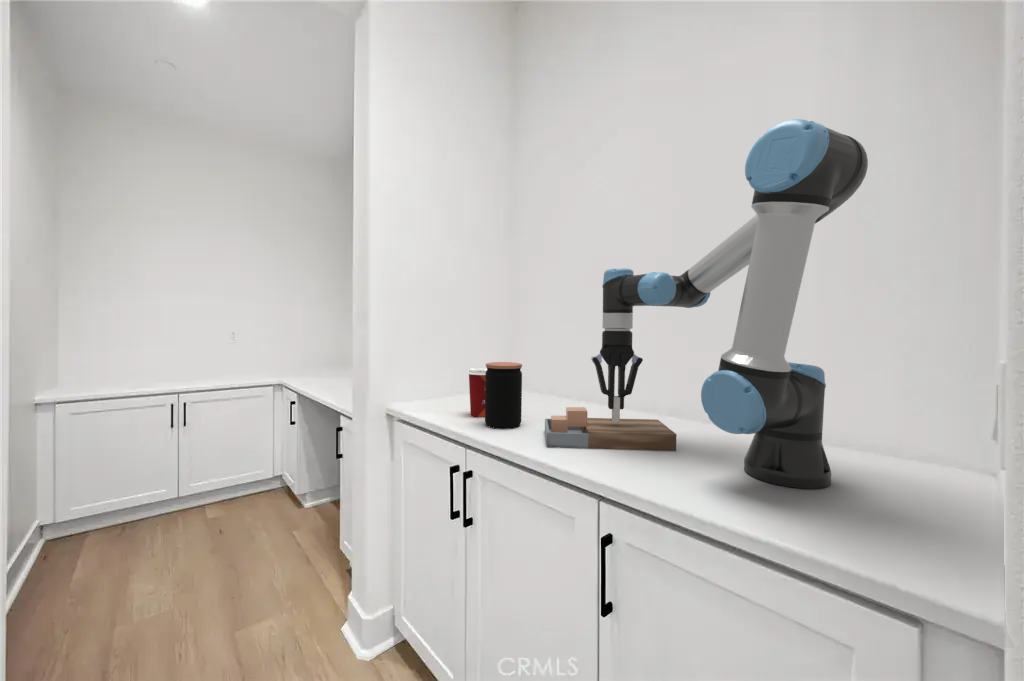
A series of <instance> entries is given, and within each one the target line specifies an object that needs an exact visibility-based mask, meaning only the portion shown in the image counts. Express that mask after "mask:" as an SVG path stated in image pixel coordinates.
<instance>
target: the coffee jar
mask: <svg viewBox="0 0 1024 681" xmlns="http://www.w3.org/2000/svg"><path fill="white" fill-rule="evenodd" d="M522 367H523V364H522V363H521V362H512V361H511V362H510V361H496V362H495V361H494V362H493V361H491V362H486V363H485V368H487V371H486V380H485V418H484V423H485V424H486V425H488V426H490V427H489V428H491V427H494V428H493V429H496V428H511V429H514V427H516V428H518V427H519V426H520V425H521V423H522V403H523V402H522V399H523V398H522V397H523V395H522V394H523V393H522V392H523V373H522V371H521V369H522ZM488 426H487V427H488ZM517 426H518V427H517Z"/></svg>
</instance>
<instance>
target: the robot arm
mask: <svg viewBox="0 0 1024 681" xmlns="http://www.w3.org/2000/svg"><path fill="white" fill-rule="evenodd" d="M868 162H869V161H868V154H867V152H866V150H865V148H864V146H863V144H861V143H860V142H859V141H858V140H857V139H856V138H854V137H852V136H849V135H847V134H843V133H840V132H839V131H835V130H833V129H831V128H828V127H826V126H825V125H823V124H821V123H820V122H817V121H813V120H810V121H809V120H806V119H800V118H799V119H797V118H795V119H788V120H785V121H782V122H780V123H777V124H776V125H774V126H772V127H771V128H769V129H767V131H766V132H765V133H764V134H763V135H762V136H759V138H758V139H757V140H756V142H755V143H754V144H753V146H752V147H751V149H750V151H749V152H748V155H747V157H746V161H745V165H744V175H745V179H746V181H747V182H748V183H749V184H748V185H749V186H750V187H751V188H752V189H753V190H754V191H753V196H752V201H751V206H750V207H751V208H752V210H753V211H754V213H755V215H754V216H753V217H752V218H750V219H749V220H748V221H747V222H745V224H743V225H742V226H741V227H739V228H737V230H735V231H734V232H733V233H732V234H731V235H730V236H728V237H727V238H726V239H724V240H723V241H722V242H720V243H719V244H718V245H717V246H716V247H714V248H713V249H712V250H711V251H710V252H708V253H707V254H706V255H705V256H703V257H702V258H701V259H700V260H699V261H697V262H695V264H694V265H692V266H691V267H690V268H689V269H687V270H686V271H684V272H683V273H682V274H680V275H670V274H669V273H668V272H664V271H662V272H659V271H658V272H656V271H654V272H653V271H652V272H649V273H642V274H634V270H633V269H631V268H626V267H623V268H620V267H619V268H609V269H606V271H604V272H603V280H602V281H603V282H602V285H601V286H602V329H604V330H603V331H602V333H601V348H600V350H599V353H598V354H597V355H595V356H591V359H590V360H591V361H592V363H593V365H594V366H595V367H594V368H595V370H596V373H597V374H596V375H597V380H598V383H599V384H598V385H599V388H600V392H601V393H602V395H605V396H607V407H608V410H611V418H612V421H613V423H620V419H621V418H620V416H621V410H624V408H625V397H626V396H630V395H632V393H633V390H634V386H635V382H636V378H637V373H638V370H639V367H640V365H641V364H642V362H643V361H644V359H643V358H642V357H639V356H638V355H637V354H635V351H634V349H633V332H632V331H631V330H632V329H633V328H634V327H633V325H634V324H633V319H634V318H633V316H634V315H633V313H634V311H633V309H634V307H644V306H645V307H649V306H650V307H677V308H685V309H686V308H687V309H693V308H698V307H701V306H703V305H705V304H707V302H708V300H709V299H710V296H711V292H712V291H713V290H715V289H716V288H718V287H720V285H722V284H723V283H725V282H726V281H728V280H729V279H731V278H732V277H733V276H735V275H736V274H738V273H739V272H740V271H741V270H743V269H745V268H746V267H747V266H748V268H747V273H746V276H745V277H746V278H745V283H744V287H743V293H742V296H741V300H740V301H741V302H740V307H739V311H738V312H739V313H738V316H737V323H736V327H735V332H734V336H733V342H732V344H731V348H730V349H728V350H727V351H725V352H724V353H722V354H721V356H720V360H719V364H718V365H719V366H718V370H716V371H713V373H712V374H710V375H709V376H708V377H706V379H704V382H703V384H702V386H701V391H700V398H701V400H700V402H701V405H702V407H703V410H704V412H705V414H707V416H708V419H709V420H710V421H711V422H712V424H714V426H716V428H718V429H720V430H722V431H723V432H726V433H729V434H732V435H733V434H734V435H743V434H744V435H752V434H753V435H754V436H753V438H752V441H751V443H750V445H749V447H748V450H747V452H746V454H745V456H744V460H743V461H744V463H743V464H744V465H743V470H744V472H746V474H748V475H749V476H751V477H753V478H756V479H758V480H760V481H764V482H766V483H770V484H774V485H779V486H784V487H789V488H796V489H808V490H809V489H810V490H811V489H813V490H814V489H823V488H827V487H829V486H831V484H832V470H831V467H830V464H829V463H830V462H829V461H828V457H827V454H826V451H825V448H824V445H823V430H824V429H823V428H824V408H825V407H824V406H825V396H826V395H825V392H826V388H827V383H826V378H825V377H826V376H825V375H826V373H825V371H824V369H823V368H821V367H820V366H817V365H813V364H812V365H811V364H805V363H797V362H789V361H787V360H786V358H785V354H786V351H787V347H788V346H787V345H788V341H789V337H790V334H791V328H792V325H793V319H794V316H795V311H796V306H797V302H798V299H799V298H798V297H799V294H800V290H801V285H802V281H803V277H804V272H805V269H806V268H805V267H806V262H807V258H808V255H809V251H810V247H811V241H812V237H813V232H814V229H815V226H816V225H815V224H817V223H819V222H820V221H822V220H823V219H824V218H826V217H827V216H829V215H830V214H832V213H833V212H834V211H836V209H838V208H840V207H841V206H842V205H843V204H845V203H846V202H847V201H848V200H849V199H850V198H851V197H852V196H853V195H854V194H855V193H856V192H857V191H858V189H859V188H860V187H861V185H862V184H863V182H864V179H865V178H866V175H867V172H868V166H869V163H868ZM602 359H603V360H602ZM602 361H604V362H605V363H606V365H607V370H608V372H607V377H608V378H607V385H606V379H605V375H604V371H603V367H602V364H601V363H602ZM630 361H631V363H632V364H631V366H630V370H629V372H628V373H629V374H628V377H627V380H626V366H627V365H628V363H629V362H630ZM616 367H617V395H615V387H616V386H615V382H616ZM625 381H626V382H625Z"/></svg>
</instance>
